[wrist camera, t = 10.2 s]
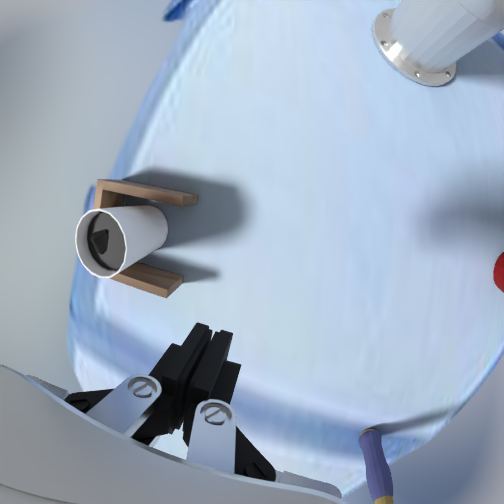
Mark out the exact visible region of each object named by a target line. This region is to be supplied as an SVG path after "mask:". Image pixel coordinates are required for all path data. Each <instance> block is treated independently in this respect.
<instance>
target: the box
mask: <svg viewBox="0 0 504 504" xmlns="http://www.w3.org/2000/svg"><path fill="white" fill-rule="evenodd" d="M124 194H127V195H132V196H137V197H141V198H146V199H151V200H155V201H160V202H164V203H169V204H173V205H178V206H185V205H192V204H197V199H198V195H195V194H190V193H186V192H181V191H176V190H171V189H166V188H161V187H156V186H151V185H146V184H141V183H136V182H130V181H125V180H103V179H100V180H98V181H97V187H96V193H95V201H94V209H100V208H113V207H123V201H124ZM94 209H93V210H94ZM110 279H113V280H115V281H118V282H121V283H124V284H126V285H129V286H132V287H135V288H138V289H141V290H143V291H146V292H149V293H152V294H155V295H158V296H161V297H164V298H167V297H168V296H169V295H170V294H171V293H173V292H174V291H175V290H176V289H177V288H178V287H179V286H180V285H181V284H182V282H183V276H181V275H178V274H174V273H171V272H168V271H164V270H161V269H158V268H155V267H151V266H148V265H145V264H142V263H139V262H135V263H133V264H132V265H130V266H129V267H127V268H126V269H124V270H122V271H121V272H119V273H118V274H116V275H114V276H113V277H111V278H110Z"/></svg>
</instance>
